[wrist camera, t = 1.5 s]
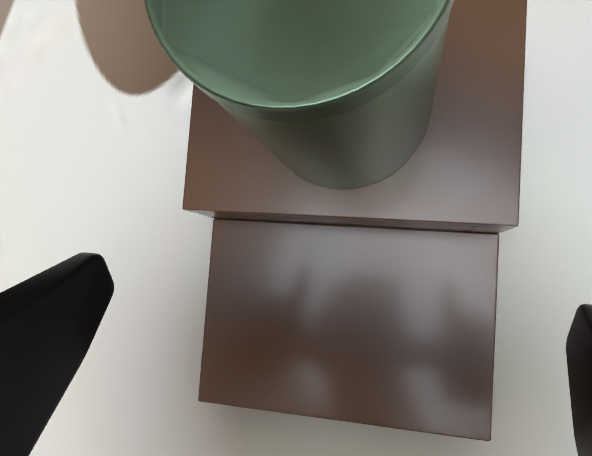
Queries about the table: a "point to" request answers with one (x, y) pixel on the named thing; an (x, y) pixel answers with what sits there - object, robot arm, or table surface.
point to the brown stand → (368, 254)
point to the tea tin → (315, 76)
